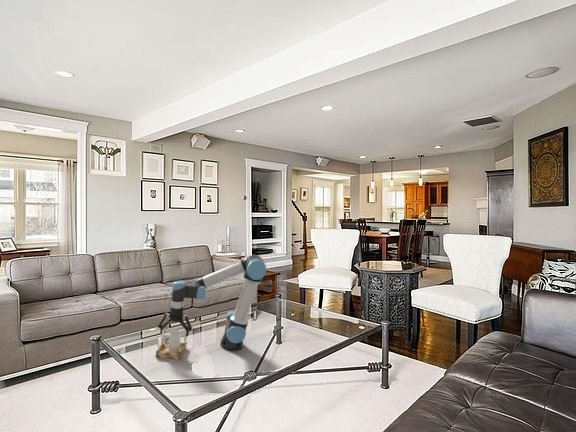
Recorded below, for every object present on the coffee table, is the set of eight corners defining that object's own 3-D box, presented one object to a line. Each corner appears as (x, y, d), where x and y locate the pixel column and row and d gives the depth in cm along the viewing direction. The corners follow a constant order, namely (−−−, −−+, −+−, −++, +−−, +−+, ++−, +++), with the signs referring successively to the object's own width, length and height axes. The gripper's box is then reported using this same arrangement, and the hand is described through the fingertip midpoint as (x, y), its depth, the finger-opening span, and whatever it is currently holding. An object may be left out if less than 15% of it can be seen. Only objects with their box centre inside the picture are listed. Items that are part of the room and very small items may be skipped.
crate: (185, 348, 220) (186, 342, 220) (180, 360, 206) (181, 353, 205) (163, 345, 219) (163, 339, 219) (155, 357, 205) (156, 350, 204)
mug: (179, 347, 217) (180, 329, 216) (180, 353, 211) (181, 334, 209) (162, 349, 213) (163, 330, 212) (162, 355, 207) (164, 336, 205)
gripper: (199, 306, 214) (195, 339, 216) (158, 302, 212) (155, 335, 214) (196, 311, 207) (193, 344, 209) (154, 306, 205) (150, 340, 207)
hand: (173, 340), depth 212 cm, fingers open, 13 cm apart
